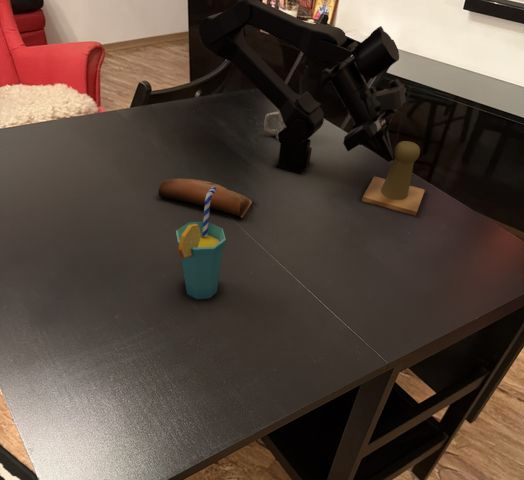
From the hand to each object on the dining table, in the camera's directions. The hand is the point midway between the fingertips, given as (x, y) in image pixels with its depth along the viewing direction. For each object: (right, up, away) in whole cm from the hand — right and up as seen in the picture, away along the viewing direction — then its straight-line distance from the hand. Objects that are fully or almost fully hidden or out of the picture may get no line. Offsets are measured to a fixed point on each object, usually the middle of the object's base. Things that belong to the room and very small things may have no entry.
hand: (391, 160), depth 102 cm
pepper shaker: (+2, -6, +4) cm, 7 cm away
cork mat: (+2, -6, +5) cm, 8 cm away
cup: (-38, -30, -22) cm, 53 cm away
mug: (-23, +15, +22) cm, 35 cm away
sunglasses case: (-39, -10, -3) cm, 41 cm away
